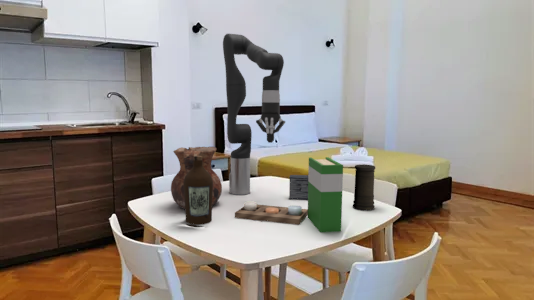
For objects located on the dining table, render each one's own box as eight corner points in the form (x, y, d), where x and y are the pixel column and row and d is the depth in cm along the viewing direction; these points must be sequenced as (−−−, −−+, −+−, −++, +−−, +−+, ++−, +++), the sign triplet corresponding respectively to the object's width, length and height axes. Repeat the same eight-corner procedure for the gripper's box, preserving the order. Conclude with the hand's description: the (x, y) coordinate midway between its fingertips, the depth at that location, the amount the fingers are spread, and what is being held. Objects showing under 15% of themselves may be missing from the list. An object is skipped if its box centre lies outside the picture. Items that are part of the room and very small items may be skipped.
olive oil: (183, 219, 158) (182, 154, 155) (211, 218, 161) (211, 153, 157) (184, 228, 148) (183, 158, 145) (214, 226, 151) (214, 157, 147)
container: (376, 206, 179) (378, 165, 177) (372, 211, 171) (373, 168, 169) (355, 204, 183) (356, 163, 181) (350, 209, 175) (351, 166, 173)
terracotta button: (263, 216, 159) (263, 210, 159) (267, 213, 164) (268, 206, 164) (276, 217, 158) (276, 211, 157) (280, 214, 162) (280, 208, 162)
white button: (241, 210, 162) (241, 203, 162) (246, 207, 167) (246, 200, 166) (253, 211, 160) (253, 205, 160) (258, 208, 165) (258, 202, 165)
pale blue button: (286, 214, 156) (286, 208, 156) (290, 211, 161) (290, 205, 161) (299, 216, 155) (299, 209, 154) (302, 212, 159) (303, 206, 159)
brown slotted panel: (234, 220, 158) (234, 212, 158) (248, 210, 172) (248, 203, 171) (299, 227, 150) (299, 219, 150) (308, 216, 164) (308, 209, 163)
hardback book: (307, 219, 160) (308, 157, 157) (326, 219, 161) (328, 157, 158) (319, 235, 142) (321, 165, 139) (340, 234, 143) (343, 165, 140)
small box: (312, 196, 196) (312, 174, 194) (312, 200, 189) (312, 177, 188) (289, 196, 197) (290, 174, 195) (289, 199, 190) (289, 176, 189)
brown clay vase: (165, 202, 183) (164, 146, 180) (211, 197, 192) (210, 143, 189) (179, 216, 163) (178, 152, 160) (229, 209, 173) (229, 149, 170)
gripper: (252, 101, 175) (252, 142, 177) (283, 101, 171) (282, 144, 173) (259, 101, 182) (258, 140, 184) (288, 101, 178) (287, 142, 180)
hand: (270, 142), depth 179 cm, fingers closed
